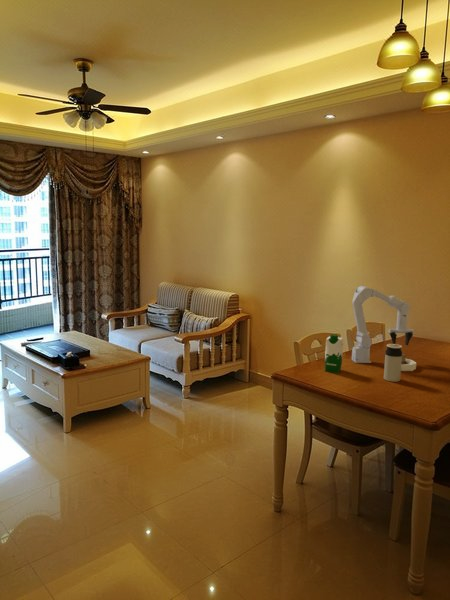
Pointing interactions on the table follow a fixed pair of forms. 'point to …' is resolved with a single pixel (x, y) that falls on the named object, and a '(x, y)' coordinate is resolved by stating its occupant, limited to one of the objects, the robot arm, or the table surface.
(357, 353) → the robot arm
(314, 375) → the table surface
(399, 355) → the travel mug
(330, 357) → the milk carton
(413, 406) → the table surface
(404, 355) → the wick
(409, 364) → the white low round dish
